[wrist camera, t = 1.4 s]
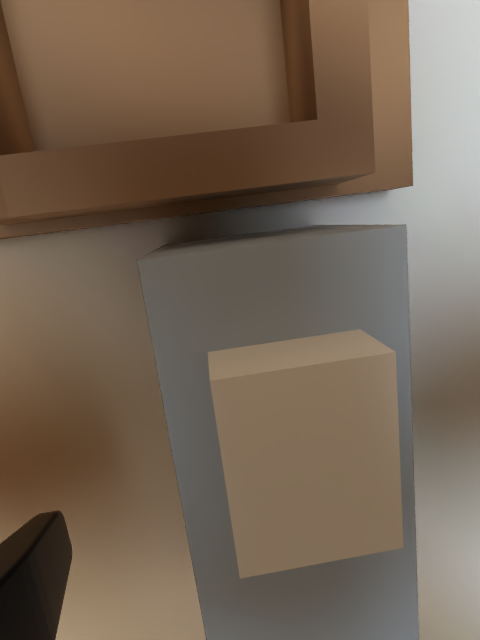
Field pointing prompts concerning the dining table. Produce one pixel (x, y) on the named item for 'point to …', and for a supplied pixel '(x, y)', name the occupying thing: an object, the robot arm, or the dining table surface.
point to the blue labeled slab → (291, 428)
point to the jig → (196, 107)
